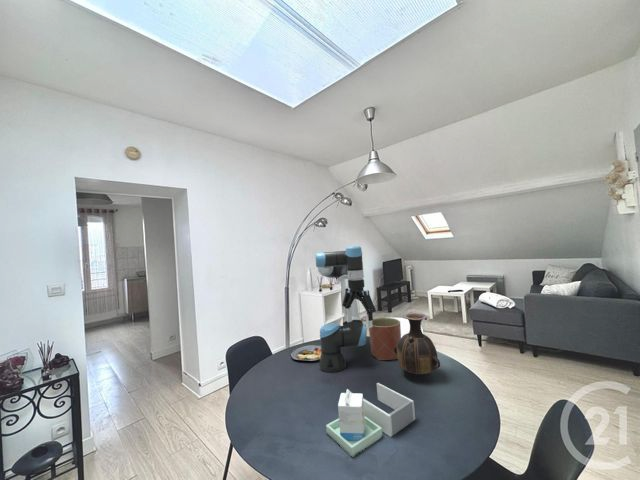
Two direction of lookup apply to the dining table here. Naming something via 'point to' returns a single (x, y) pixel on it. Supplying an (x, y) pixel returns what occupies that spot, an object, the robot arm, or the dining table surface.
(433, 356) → the vase
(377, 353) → the planter
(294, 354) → the food plate
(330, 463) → the dining table surface
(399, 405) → the dock
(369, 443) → the tray
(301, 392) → the dining table surface
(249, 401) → the dining table surface
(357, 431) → the ink box
